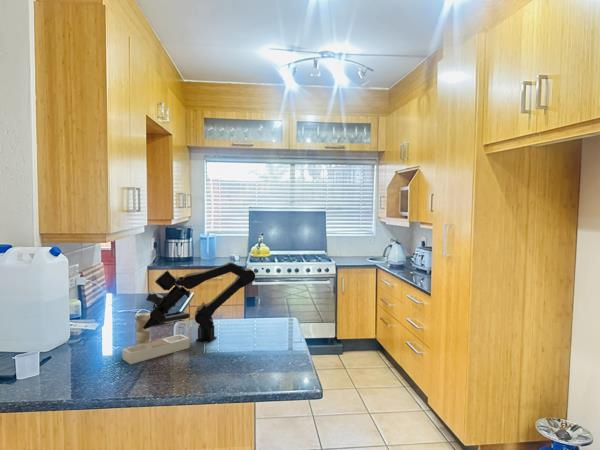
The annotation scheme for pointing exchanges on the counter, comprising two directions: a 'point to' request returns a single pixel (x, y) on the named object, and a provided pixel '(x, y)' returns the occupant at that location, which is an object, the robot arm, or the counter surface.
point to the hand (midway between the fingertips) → (145, 325)
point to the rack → (155, 348)
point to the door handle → (176, 317)
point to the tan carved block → (142, 333)
